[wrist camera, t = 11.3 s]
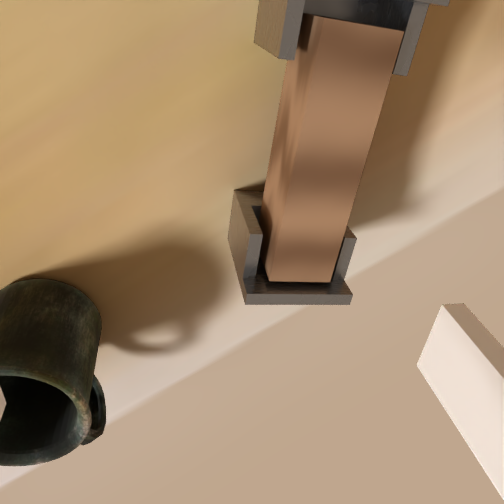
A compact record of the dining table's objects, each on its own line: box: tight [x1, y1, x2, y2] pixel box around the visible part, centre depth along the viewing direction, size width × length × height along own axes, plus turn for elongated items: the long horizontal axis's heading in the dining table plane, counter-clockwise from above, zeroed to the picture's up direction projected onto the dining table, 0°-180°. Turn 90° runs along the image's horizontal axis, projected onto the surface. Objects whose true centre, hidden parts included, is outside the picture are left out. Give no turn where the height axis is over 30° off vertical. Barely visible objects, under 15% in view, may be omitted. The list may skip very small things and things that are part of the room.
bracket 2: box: [228, 190, 357, 305], centre depth 36 cm, size 5×9×10 cm, turn 82°
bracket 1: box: [254, 0, 450, 76], centre depth 28 cm, size 5×9×10 cm, turn 82°
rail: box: [258, 13, 404, 282], centre depth 31 cm, size 18×5×6 cm, turn 171°
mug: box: [0, 279, 106, 466], centre depth 38 cm, size 11×15×12 cm
